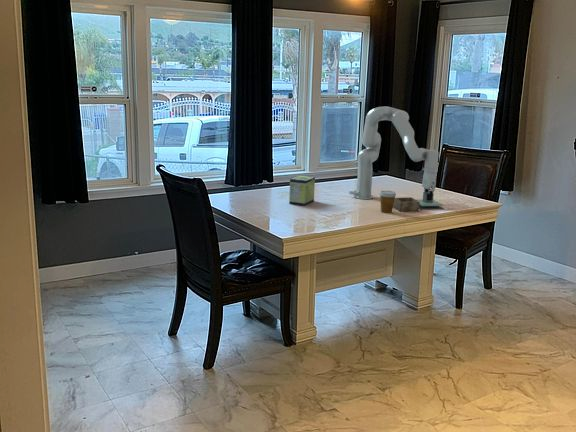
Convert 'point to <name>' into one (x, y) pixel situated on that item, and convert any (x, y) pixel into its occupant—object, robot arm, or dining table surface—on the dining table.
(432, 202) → the lid
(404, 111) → the robot arm
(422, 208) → the rubber mat
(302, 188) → the protein box
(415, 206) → the storage box
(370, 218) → the dining table surface
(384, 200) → the disposable coffee cup
